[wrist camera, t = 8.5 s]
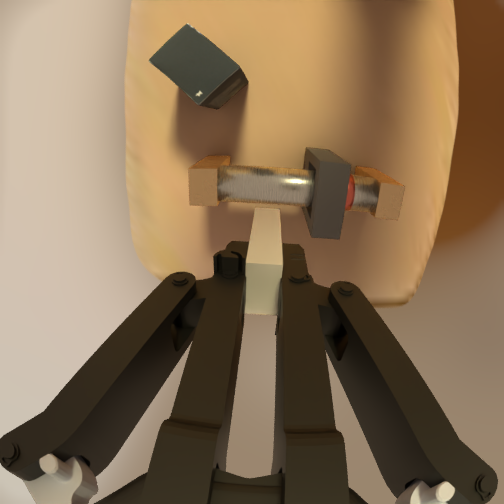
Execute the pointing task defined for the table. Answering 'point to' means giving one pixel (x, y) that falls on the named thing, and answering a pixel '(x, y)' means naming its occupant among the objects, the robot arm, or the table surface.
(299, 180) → the pipe
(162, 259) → the table surface
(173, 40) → the box
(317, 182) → the collar
